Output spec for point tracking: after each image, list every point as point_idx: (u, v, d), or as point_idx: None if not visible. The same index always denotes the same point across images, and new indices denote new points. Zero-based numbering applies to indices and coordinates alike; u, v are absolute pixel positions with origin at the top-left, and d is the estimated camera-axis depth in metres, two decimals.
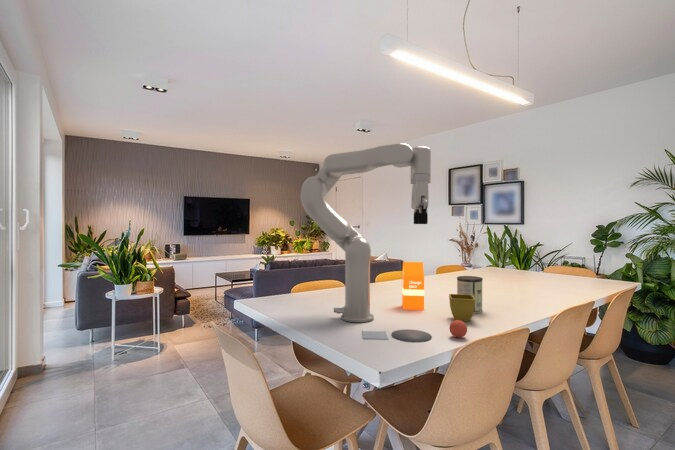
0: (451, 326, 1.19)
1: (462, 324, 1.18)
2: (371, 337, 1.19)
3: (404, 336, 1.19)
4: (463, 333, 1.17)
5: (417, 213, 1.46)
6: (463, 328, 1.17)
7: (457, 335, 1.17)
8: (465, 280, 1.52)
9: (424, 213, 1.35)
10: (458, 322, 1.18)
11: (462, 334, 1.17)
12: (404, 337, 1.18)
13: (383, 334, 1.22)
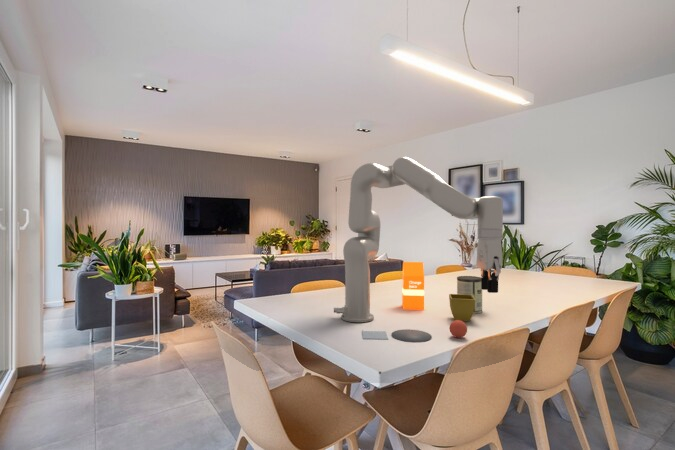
0: (451, 326, 1.19)
1: (462, 324, 1.18)
2: (371, 337, 1.19)
3: (404, 336, 1.19)
4: (463, 333, 1.17)
5: (486, 277, 1.21)
6: (463, 328, 1.17)
7: (457, 335, 1.17)
8: (465, 280, 1.52)
9: (495, 280, 1.15)
10: (458, 322, 1.18)
11: (462, 334, 1.17)
12: (404, 337, 1.18)
13: (383, 334, 1.22)
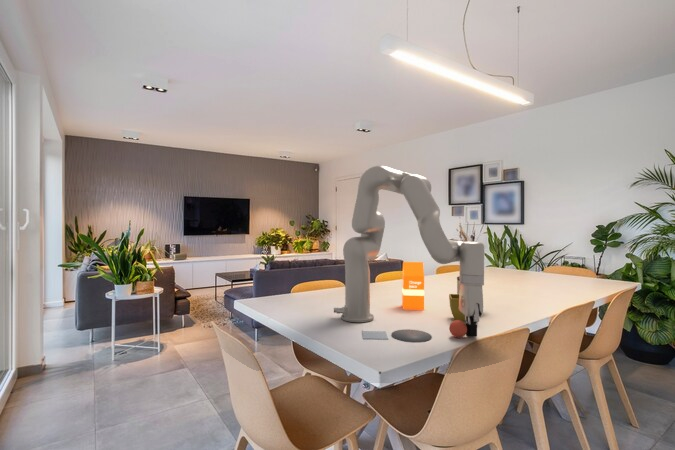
0: (451, 326, 1.19)
1: (462, 324, 1.18)
2: (371, 337, 1.19)
3: (404, 336, 1.19)
4: (463, 333, 1.17)
5: None
6: (463, 328, 1.17)
7: (457, 335, 1.17)
8: None
9: (473, 325, 1.18)
10: (458, 322, 1.18)
11: (462, 334, 1.17)
12: (404, 337, 1.18)
13: (383, 334, 1.22)
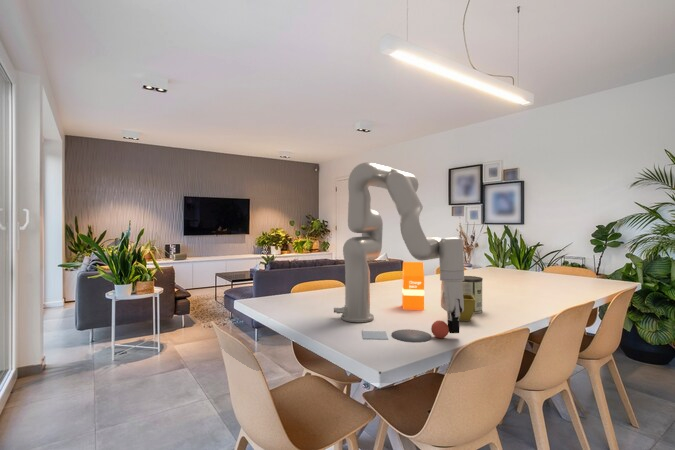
0: None
1: (436, 327, 1.17)
2: (371, 337, 1.19)
3: (404, 336, 1.19)
4: (445, 330, 1.16)
5: None
6: (440, 328, 1.16)
7: (445, 335, 1.17)
8: (465, 280, 1.52)
9: (455, 321, 1.17)
10: (433, 329, 1.18)
11: (445, 331, 1.16)
12: (404, 337, 1.18)
13: (383, 334, 1.22)
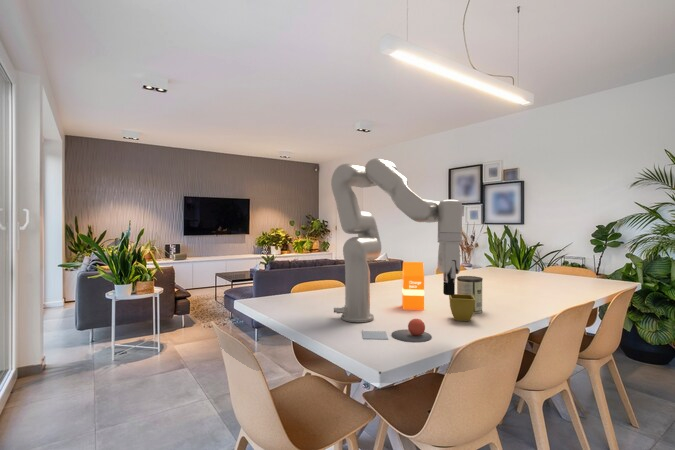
0: (423, 325, 1.19)
1: (416, 333, 1.19)
2: (371, 337, 1.19)
3: (404, 336, 1.19)
4: (410, 326, 1.20)
5: None
6: (413, 331, 1.19)
7: (413, 321, 1.20)
8: (465, 280, 1.52)
9: (451, 283, 1.18)
10: (420, 332, 1.19)
11: (410, 325, 1.20)
12: (404, 337, 1.18)
13: (383, 334, 1.22)
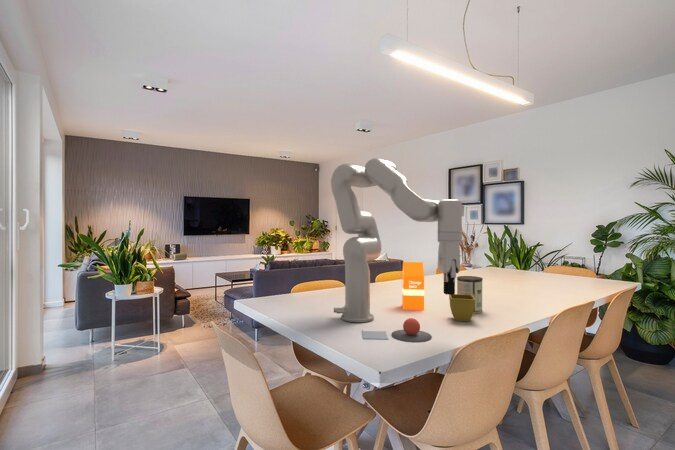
0: (415, 321, 1.20)
1: (414, 332, 1.19)
2: (371, 337, 1.19)
3: (404, 336, 1.19)
4: (405, 329, 1.20)
5: None
6: (410, 331, 1.19)
7: (405, 323, 1.21)
8: (465, 280, 1.52)
9: (451, 282, 1.18)
10: (416, 329, 1.19)
11: (405, 328, 1.20)
12: (404, 337, 1.18)
13: (383, 334, 1.22)
